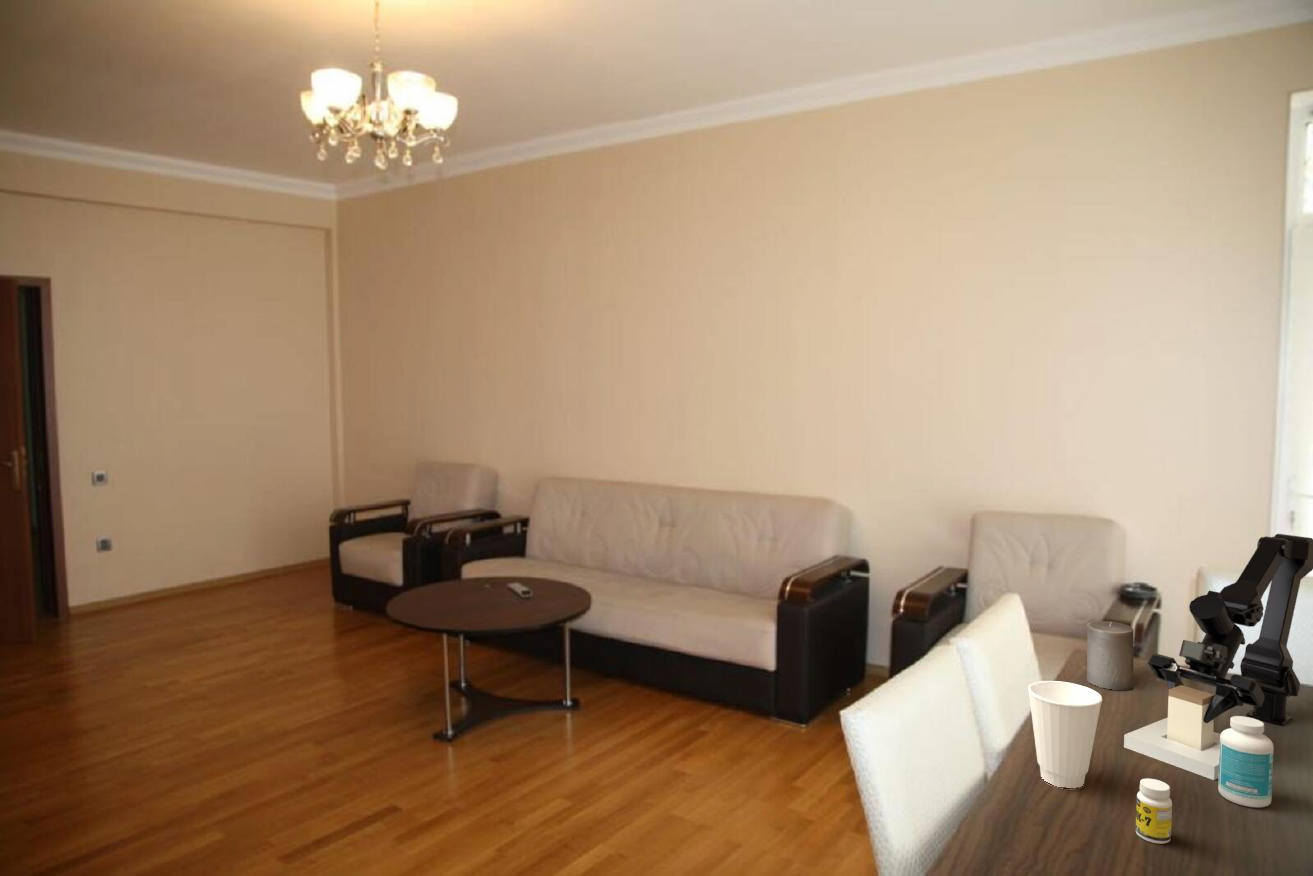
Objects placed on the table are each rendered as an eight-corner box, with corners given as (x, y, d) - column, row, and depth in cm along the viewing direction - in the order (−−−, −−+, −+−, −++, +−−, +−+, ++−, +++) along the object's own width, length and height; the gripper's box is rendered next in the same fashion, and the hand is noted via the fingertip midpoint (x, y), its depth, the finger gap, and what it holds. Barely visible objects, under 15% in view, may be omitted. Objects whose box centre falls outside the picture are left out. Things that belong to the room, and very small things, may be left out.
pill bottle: (1280, 812, 137) (1283, 732, 136) (1230, 807, 139) (1233, 728, 138) (1257, 790, 145) (1260, 714, 144) (1210, 786, 146) (1212, 711, 145)
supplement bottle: (1128, 829, 132) (1130, 777, 132) (1156, 827, 133) (1158, 776, 132) (1149, 845, 127) (1150, 792, 127) (1178, 844, 128) (1180, 790, 127)
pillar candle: (1134, 681, 198) (1135, 618, 197) (1131, 694, 190) (1132, 628, 189) (1088, 674, 203) (1089, 613, 202) (1084, 686, 195) (1084, 623, 194)
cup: (1093, 770, 152) (1096, 684, 151) (1105, 801, 141) (1108, 708, 140) (1023, 761, 156) (1025, 677, 155) (1028, 790, 145) (1031, 700, 144)
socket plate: (1167, 729, 170) (1168, 717, 170) (1256, 758, 157) (1257, 746, 157) (1123, 747, 162) (1124, 734, 162) (1213, 780, 148) (1214, 766, 148)
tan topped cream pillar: (1179, 740, 163) (1180, 685, 162) (1212, 751, 158) (1214, 694, 157) (1166, 745, 161) (1168, 689, 160) (1200, 757, 156) (1202, 699, 155)
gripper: (1154, 613, 168) (1121, 678, 163) (1259, 637, 152) (1227, 709, 147) (1173, 645, 172) (1142, 708, 167) (1278, 671, 157) (1247, 742, 151)
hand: (1186, 716), depth 158 cm, fingers closed on tan topped cream pillar, 6 cm apart
